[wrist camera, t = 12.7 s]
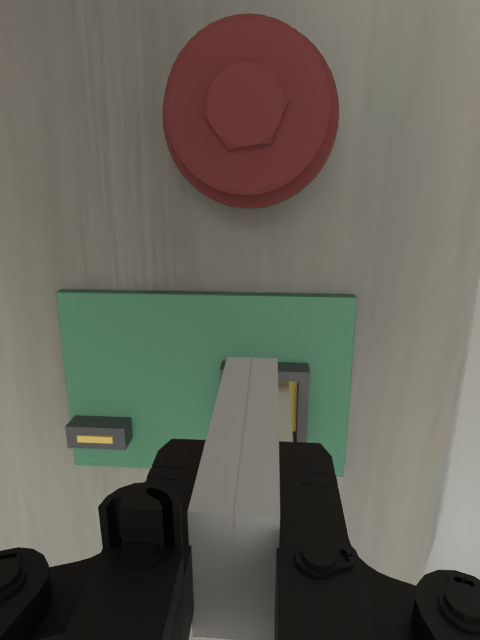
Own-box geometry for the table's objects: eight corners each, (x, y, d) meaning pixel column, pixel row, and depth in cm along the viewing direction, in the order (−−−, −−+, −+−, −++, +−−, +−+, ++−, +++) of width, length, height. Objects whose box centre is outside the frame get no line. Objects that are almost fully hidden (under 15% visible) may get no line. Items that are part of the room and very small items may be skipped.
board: (61, 289, 38) (42, 298, 35) (354, 294, 37) (361, 304, 33) (79, 458, 43) (64, 479, 40) (341, 469, 41) (347, 492, 38)
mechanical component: (318, 46, 32) (329, 194, 35) (177, 69, 33) (198, 211, 36) (344, -37, 20) (357, 199, 23) (123, 3, 21) (160, 223, 24)
